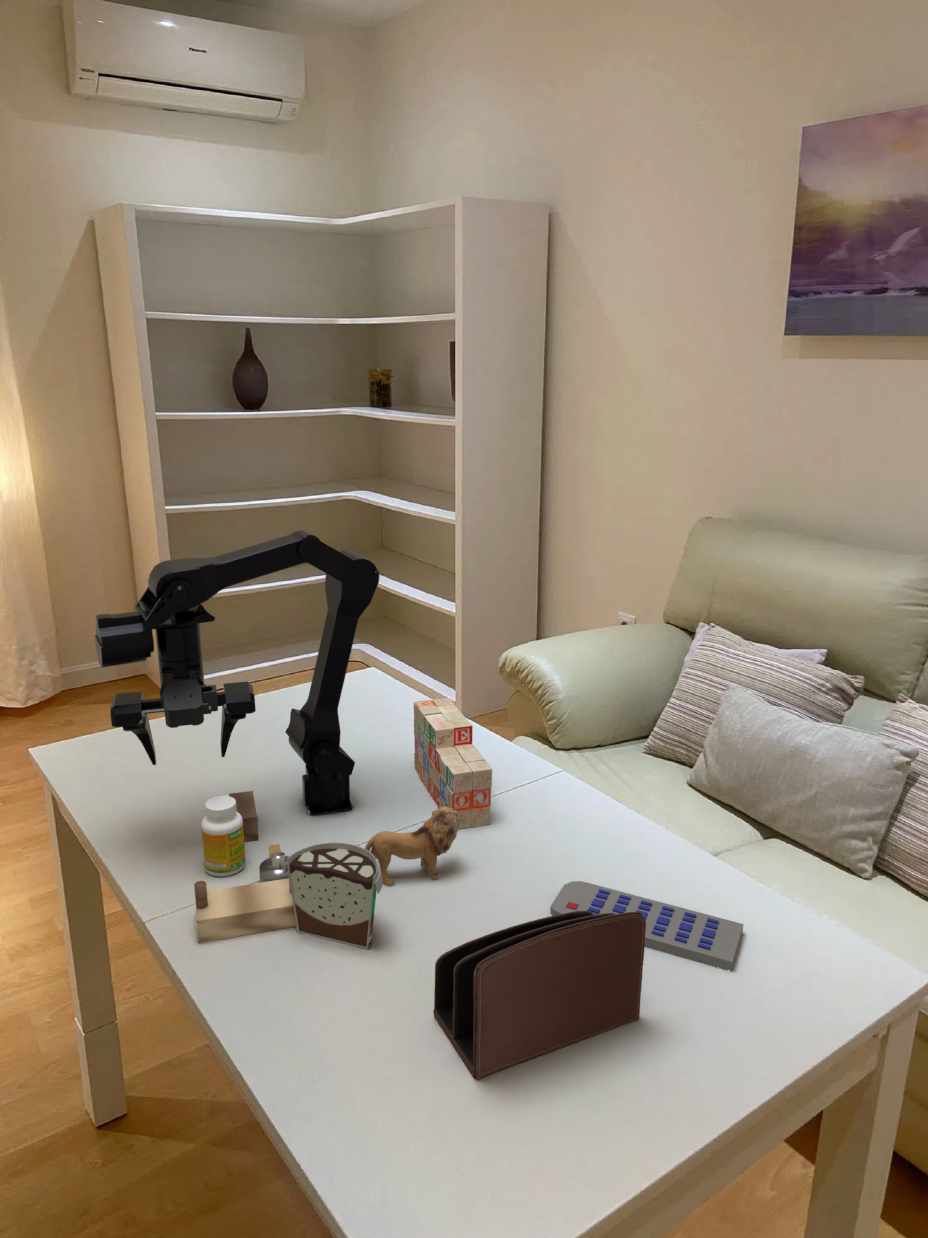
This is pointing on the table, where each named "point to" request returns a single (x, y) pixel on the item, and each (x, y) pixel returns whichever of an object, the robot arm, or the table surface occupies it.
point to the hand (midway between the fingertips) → (189, 760)
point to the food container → (335, 892)
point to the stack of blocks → (451, 762)
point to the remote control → (660, 923)
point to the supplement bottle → (223, 837)
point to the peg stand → (243, 909)
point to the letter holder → (539, 986)
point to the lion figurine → (417, 843)
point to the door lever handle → (273, 865)
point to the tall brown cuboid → (247, 814)
